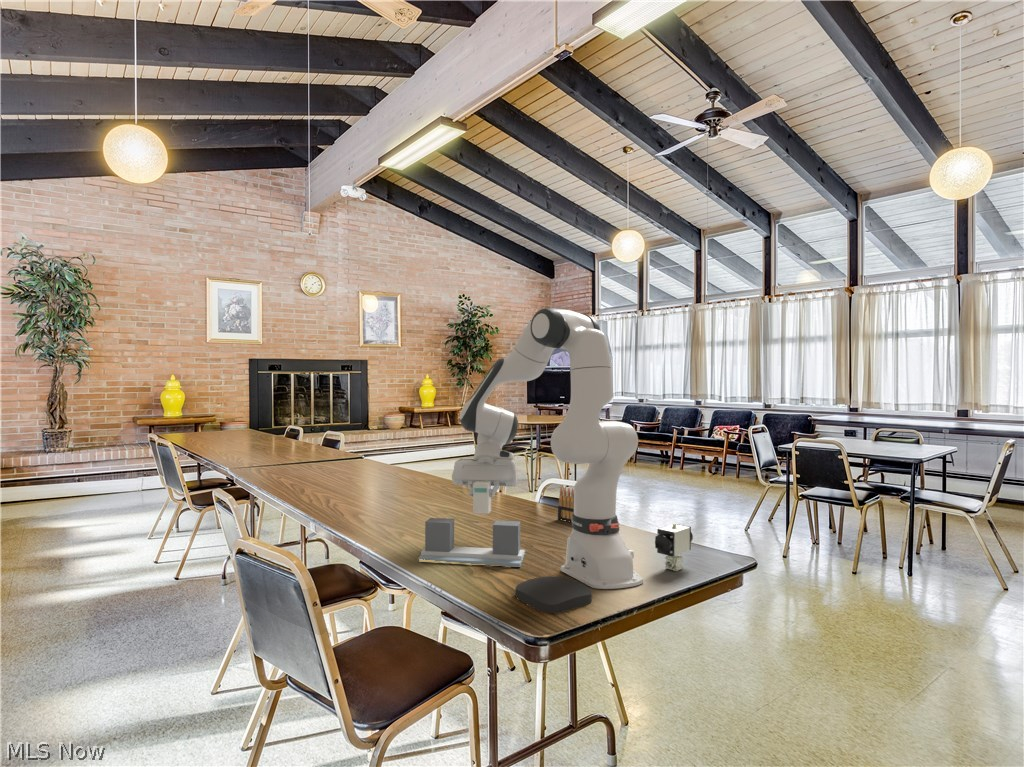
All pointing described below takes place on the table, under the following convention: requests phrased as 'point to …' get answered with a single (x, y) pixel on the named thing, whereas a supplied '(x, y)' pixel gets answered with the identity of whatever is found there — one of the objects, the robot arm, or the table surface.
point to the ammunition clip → (566, 504)
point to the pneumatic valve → (673, 544)
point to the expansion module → (481, 497)
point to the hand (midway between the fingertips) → (481, 495)
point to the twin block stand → (501, 554)
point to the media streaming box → (553, 594)
